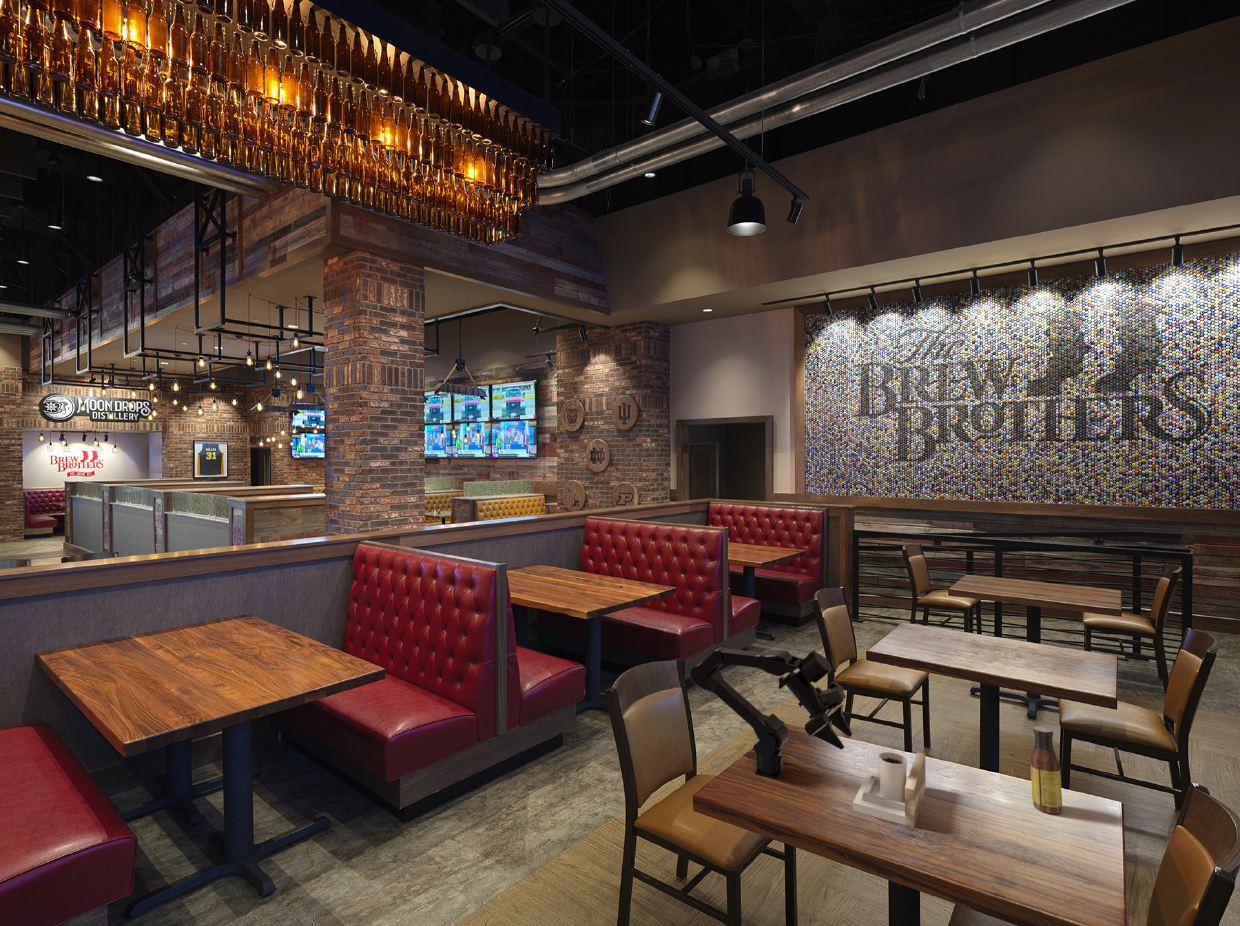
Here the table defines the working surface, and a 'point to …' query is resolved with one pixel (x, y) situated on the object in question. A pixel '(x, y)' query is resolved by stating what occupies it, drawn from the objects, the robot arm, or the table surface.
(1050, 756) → the sauce bottle
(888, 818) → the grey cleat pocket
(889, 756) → the white coffee cup
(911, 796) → the ash wall board
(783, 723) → the robot arm
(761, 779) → the table surface
